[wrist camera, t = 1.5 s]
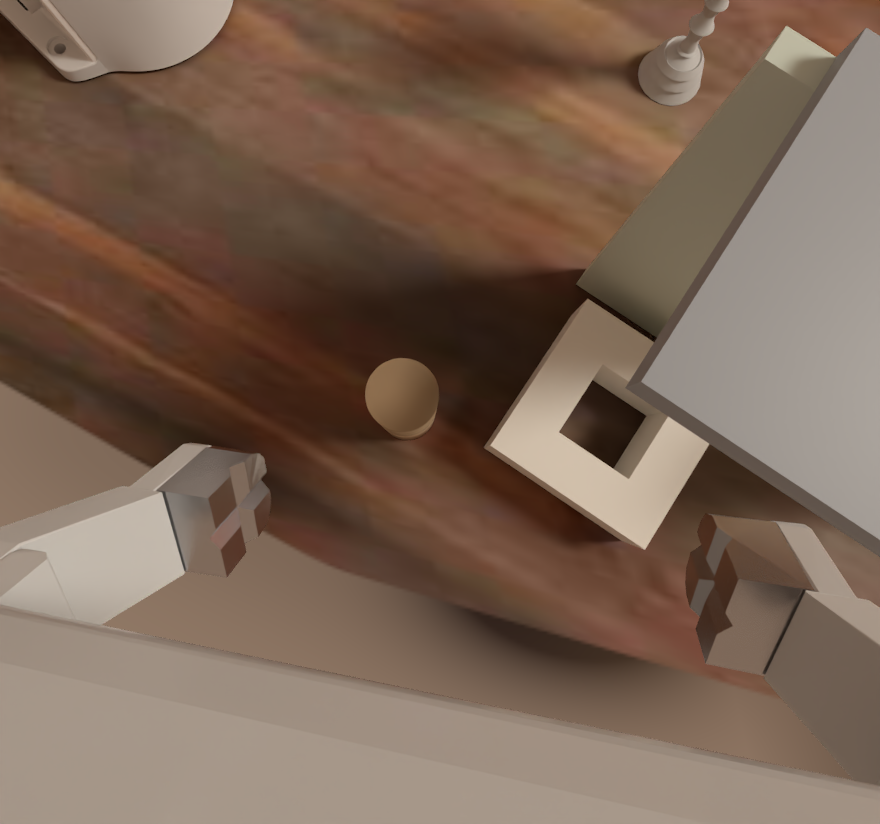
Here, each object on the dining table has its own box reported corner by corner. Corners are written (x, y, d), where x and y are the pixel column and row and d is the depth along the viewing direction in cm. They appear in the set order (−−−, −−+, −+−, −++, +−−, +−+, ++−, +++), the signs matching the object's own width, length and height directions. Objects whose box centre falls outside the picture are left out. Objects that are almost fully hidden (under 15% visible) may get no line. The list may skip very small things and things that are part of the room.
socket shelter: (472, 439, 38) (546, 399, 15) (586, 268, 40) (812, -7, 17) (633, 548, 38) (966, 680, 14) (742, 370, 39) (1197, 234, 16)
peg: (369, 420, 38) (350, 404, 28) (400, 375, 38) (392, 344, 28) (414, 450, 38) (412, 445, 28) (445, 405, 38) (453, 384, 28)
